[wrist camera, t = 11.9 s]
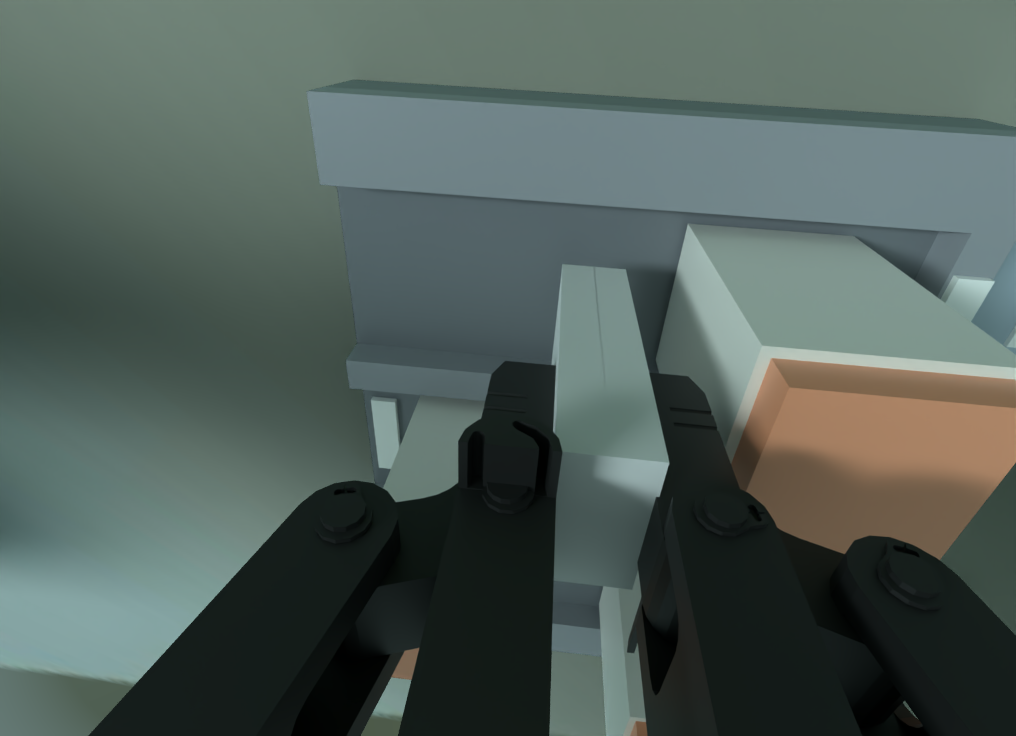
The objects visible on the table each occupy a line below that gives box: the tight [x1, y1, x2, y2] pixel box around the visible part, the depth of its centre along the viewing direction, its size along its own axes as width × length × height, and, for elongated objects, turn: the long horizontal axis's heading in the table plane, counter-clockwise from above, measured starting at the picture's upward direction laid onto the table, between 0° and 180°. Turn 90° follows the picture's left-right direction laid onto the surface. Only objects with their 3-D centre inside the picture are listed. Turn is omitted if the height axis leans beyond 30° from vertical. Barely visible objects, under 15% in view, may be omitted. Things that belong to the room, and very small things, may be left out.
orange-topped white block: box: [383, 395, 485, 680], centre depth 15 cm, size 4×4×7 cm
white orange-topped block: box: [656, 224, 1016, 560], centre depth 11 cm, size 4×4×7 cm
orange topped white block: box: [599, 572, 647, 736], centre depth 18 cm, size 4×4×7 cm
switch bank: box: [307, 80, 1016, 657], centre depth 18 cm, size 16×21×3 cm
